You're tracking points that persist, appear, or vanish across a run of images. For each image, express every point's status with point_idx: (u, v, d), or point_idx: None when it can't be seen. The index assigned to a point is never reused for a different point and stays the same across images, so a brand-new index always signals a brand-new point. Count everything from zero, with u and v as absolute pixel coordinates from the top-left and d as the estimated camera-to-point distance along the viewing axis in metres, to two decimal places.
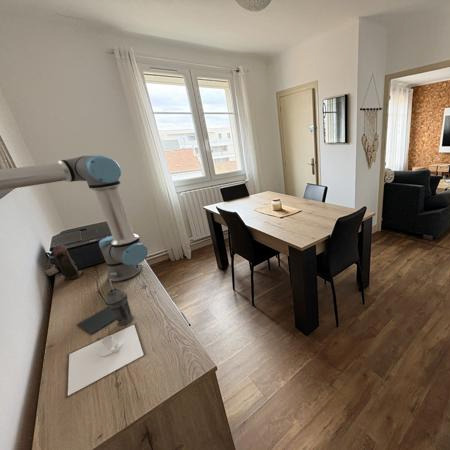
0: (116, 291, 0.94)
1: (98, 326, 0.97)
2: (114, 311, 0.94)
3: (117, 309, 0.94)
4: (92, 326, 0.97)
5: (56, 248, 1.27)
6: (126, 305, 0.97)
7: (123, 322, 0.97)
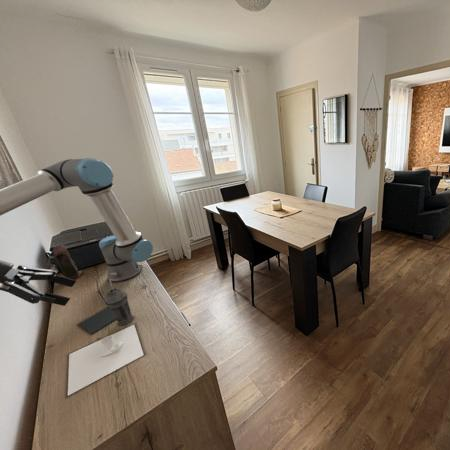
0: (116, 291, 0.94)
1: (98, 326, 0.97)
2: (114, 311, 0.94)
3: (117, 309, 0.94)
4: (92, 326, 0.97)
5: (56, 248, 1.27)
6: (126, 305, 0.97)
7: (123, 322, 0.97)
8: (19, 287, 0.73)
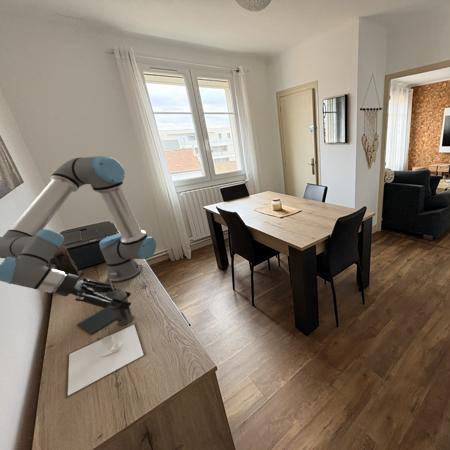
0: (116, 291, 0.94)
1: (98, 326, 0.97)
2: (114, 311, 0.94)
3: (117, 309, 0.94)
4: (92, 326, 0.97)
5: None
6: None
7: (123, 322, 0.97)
8: (92, 297, 0.85)
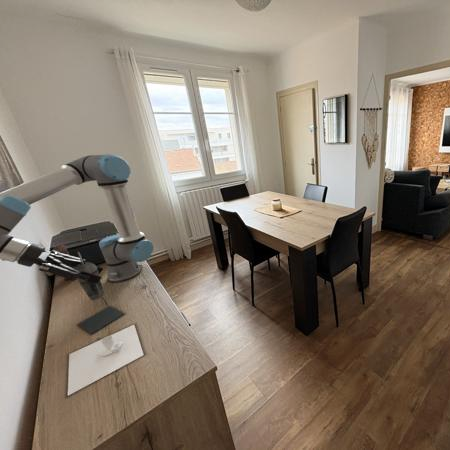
0: (85, 264, 0.91)
1: (98, 326, 0.97)
2: (84, 285, 0.91)
3: (87, 283, 0.91)
4: (92, 326, 0.97)
5: (56, 248, 1.27)
6: None
7: (94, 297, 0.94)
8: (58, 267, 0.82)
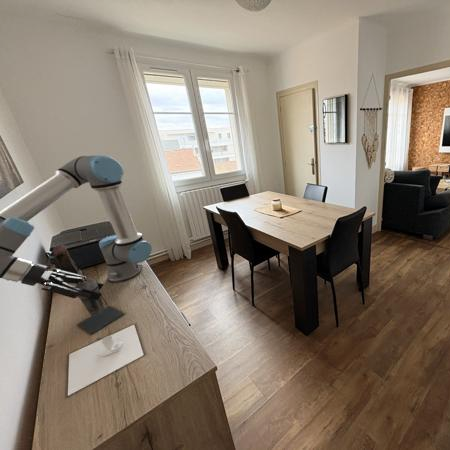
0: (86, 282, 0.94)
1: (98, 326, 0.97)
2: (85, 302, 0.94)
3: (87, 300, 0.94)
4: (92, 326, 0.97)
5: (56, 248, 1.27)
6: None
7: (94, 313, 0.97)
8: (59, 286, 0.86)
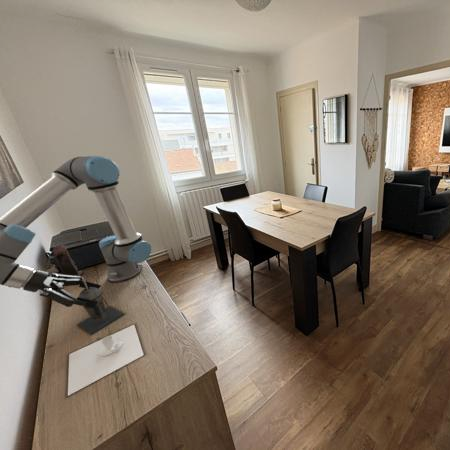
0: (90, 290, 0.95)
1: (98, 326, 0.97)
2: (88, 309, 0.96)
3: None
4: (92, 326, 0.97)
5: (56, 248, 1.27)
6: (100, 303, 0.98)
7: (97, 320, 0.99)
8: (56, 293, 0.85)
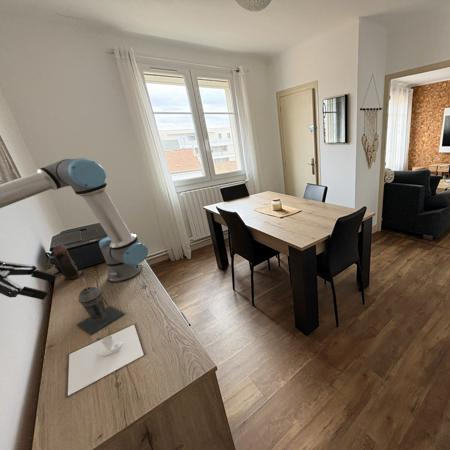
0: (90, 290, 0.95)
1: (98, 326, 0.97)
2: (88, 309, 0.96)
3: (91, 307, 0.96)
4: (92, 326, 0.97)
5: (56, 248, 1.27)
6: (100, 303, 0.98)
7: (97, 320, 0.99)
8: None
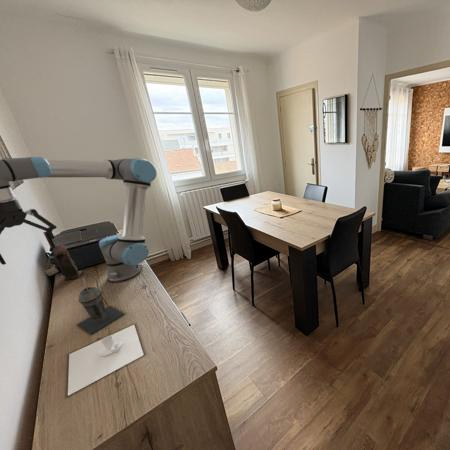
0: (90, 290, 0.95)
1: (98, 326, 0.97)
2: (88, 309, 0.96)
3: (91, 307, 0.96)
4: (92, 326, 0.97)
5: (56, 248, 1.27)
6: (100, 303, 0.98)
7: (97, 320, 0.99)
8: None
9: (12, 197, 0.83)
